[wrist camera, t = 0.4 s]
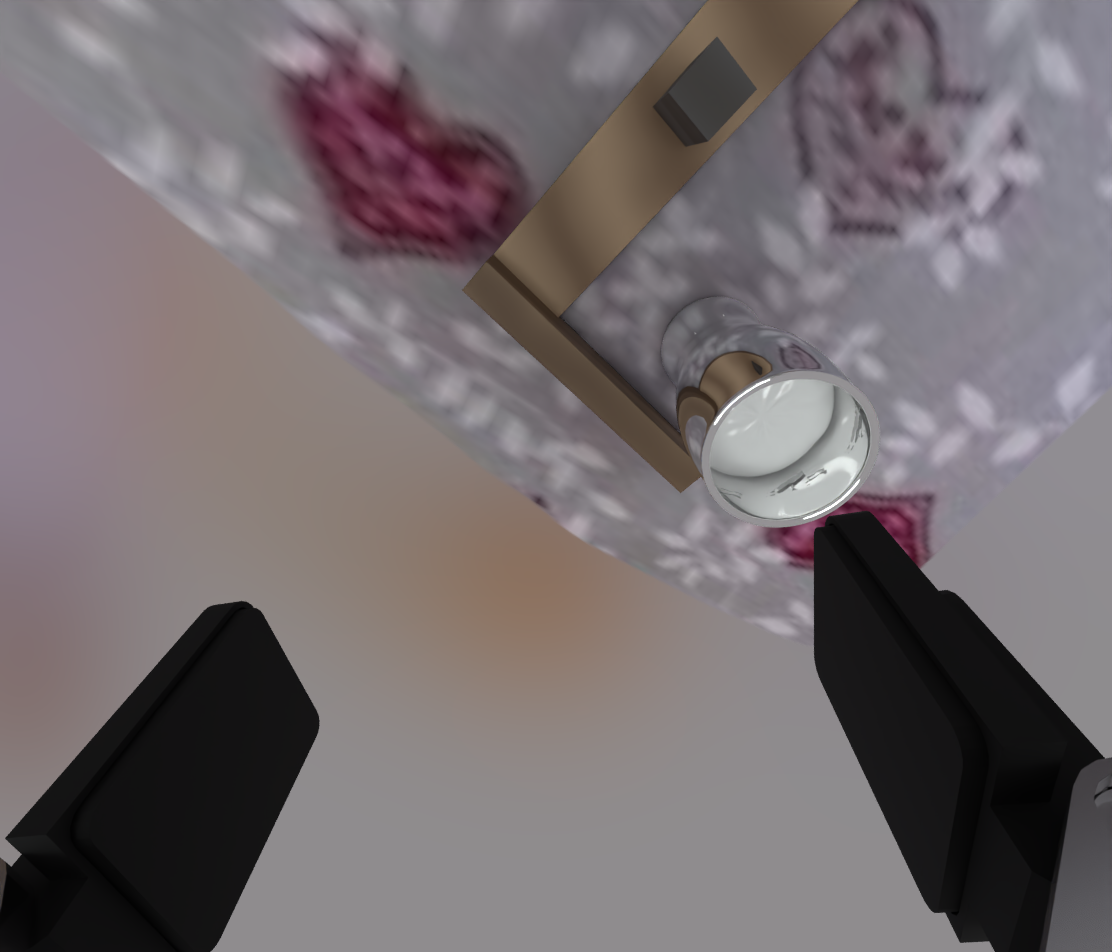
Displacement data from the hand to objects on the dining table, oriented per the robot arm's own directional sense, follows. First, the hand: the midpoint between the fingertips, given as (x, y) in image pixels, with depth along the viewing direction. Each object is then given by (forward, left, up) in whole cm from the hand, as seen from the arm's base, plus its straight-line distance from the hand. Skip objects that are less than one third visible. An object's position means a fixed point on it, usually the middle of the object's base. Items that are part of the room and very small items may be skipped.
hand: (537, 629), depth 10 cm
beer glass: (-4, +8, -28) cm, 29 cm away
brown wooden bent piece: (-10, +4, -27) cm, 29 cm away
